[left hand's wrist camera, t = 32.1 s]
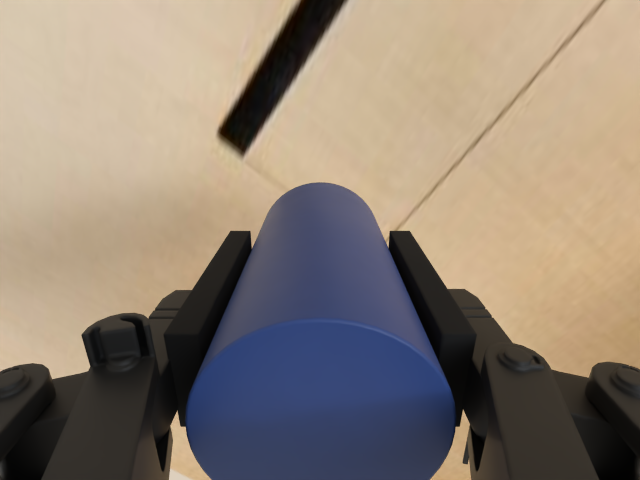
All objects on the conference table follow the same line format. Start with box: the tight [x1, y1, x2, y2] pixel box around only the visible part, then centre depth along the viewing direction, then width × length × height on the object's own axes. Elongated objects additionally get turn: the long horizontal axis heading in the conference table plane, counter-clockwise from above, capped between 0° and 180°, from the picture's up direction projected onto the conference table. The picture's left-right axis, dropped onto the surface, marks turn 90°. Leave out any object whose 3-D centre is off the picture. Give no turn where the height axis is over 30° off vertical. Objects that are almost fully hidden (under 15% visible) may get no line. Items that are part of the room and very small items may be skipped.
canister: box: [185, 183, 456, 480], centre depth 12 cm, size 5×5×10 cm
